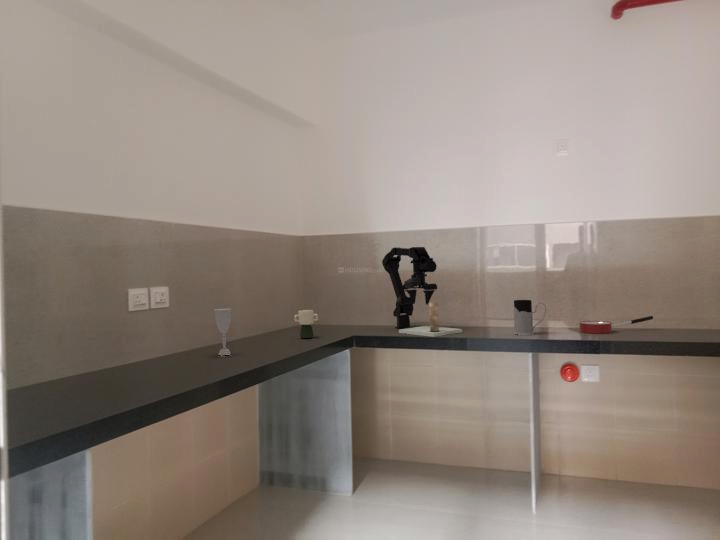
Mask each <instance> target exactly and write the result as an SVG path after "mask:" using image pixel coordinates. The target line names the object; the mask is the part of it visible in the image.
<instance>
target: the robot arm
mask: <svg viewBox="0 0 720 540" xmlns="http://www.w3.org/2000/svg"><path fill="white" fill-rule="evenodd" d="M402 256H406V257H409V258H410V259H412V260H411V261H410V262H409V263H410V264H412V269H413V270H412V271H413V273H412V274H411V275H410V276H411V277H410V278H409V279H407V280H405V281H404V282H402V279H401V275H400V272H399V269H400V262H401V260H402ZM382 258H383V259H382V260H381V263H382V266H383V268H384V270H385V272H386V273H388V275H389V278H390V281H391V284H392V286H393V290H394V294H395V297H396V302H395V308H394V310H393V312H392V315H393V317H395V318H396V326H394V329H407V328H413V327H412V326H411V319H410V316H411V317H412V316H413V311H414V305H415V303H416V299H417V289H423V290H422V292H423V293H424V299H425V305H427V306H429V302H431V301H430V300H431V298H432V296H433V295H434V293H435V292H436V290H438V284H437V283H428V282H426V277H428V274H427V273H433V272H435V271H436V270H437V263H436V262H435V260H434V258H433V257H430V255H429V253H428V251H427V249H426V247H424V246H412V247H409V248H407V247H401V246H400V247H396V246H395V247H392V248H391V250H390V251H389V252H387V253H386V254H385V255H384V257H382ZM406 292H407V293H408V295H409V296H407V295H406Z"/></svg>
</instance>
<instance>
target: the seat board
mask: <svg viewBox="0 0 720 540" xmlns="http://www.w3.org/2000/svg"><path fill="white" fill-rule="evenodd" d="M399 333H400V334H405V333H406V334H408V335H416V336H423V337H424V336H425V337H430V338H431V337H432V338H434V337H441V336H448V335H453V334H458V333H459V334H460V333H463V329H462V328H453V327H445V326H439V332H430V325H422V326H421V325H420V326H416V327H412V328H405V329H401V328H399V329H398V334H399Z"/></svg>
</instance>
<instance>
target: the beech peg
mask: <svg viewBox="0 0 720 540" xmlns="http://www.w3.org/2000/svg"><path fill="white" fill-rule="evenodd" d="M428 306H429V326H430V332H439V327H440V318H439V317H440V315H439V314H440V313H439V301H429V303H428Z"/></svg>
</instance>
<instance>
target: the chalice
mask: <svg viewBox="0 0 720 540" xmlns="http://www.w3.org/2000/svg"><path fill="white" fill-rule="evenodd" d="M213 311H214V313H215V315H214V316H215V325H216V327H217V329H218V330H219V333H221V334H222V338H221V340H222V342H221V344H222V348H221V349H220V350H219V352H218V355H221V356H220V357H223V356H222V355H230V354H231V351H230V349H229V348H227V347H226V344H227V341H226V339H227V337H226V333H227V332H228V331H229V329H230V326H231V323H232V322H231V321H232V318H231V317H232V314H231V313H232V308H215V309H213ZM231 355H232V354H231ZM231 355H230V356H231Z"/></svg>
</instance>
